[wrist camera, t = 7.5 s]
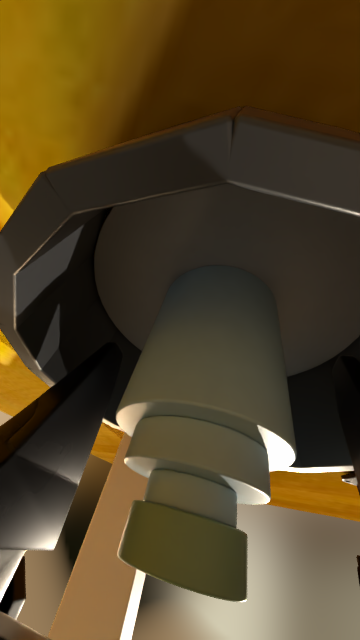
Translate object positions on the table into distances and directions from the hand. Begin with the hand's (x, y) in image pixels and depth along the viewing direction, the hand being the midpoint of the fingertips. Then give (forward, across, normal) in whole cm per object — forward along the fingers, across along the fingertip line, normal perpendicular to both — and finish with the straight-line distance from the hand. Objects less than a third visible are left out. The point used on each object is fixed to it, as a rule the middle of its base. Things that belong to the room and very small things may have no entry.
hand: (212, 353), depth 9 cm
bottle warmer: (+3, 0, 0) cm, 3 cm away
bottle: (+2, 0, 0) cm, 2 cm away
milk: (+3, +11, +25) cm, 27 cm away
